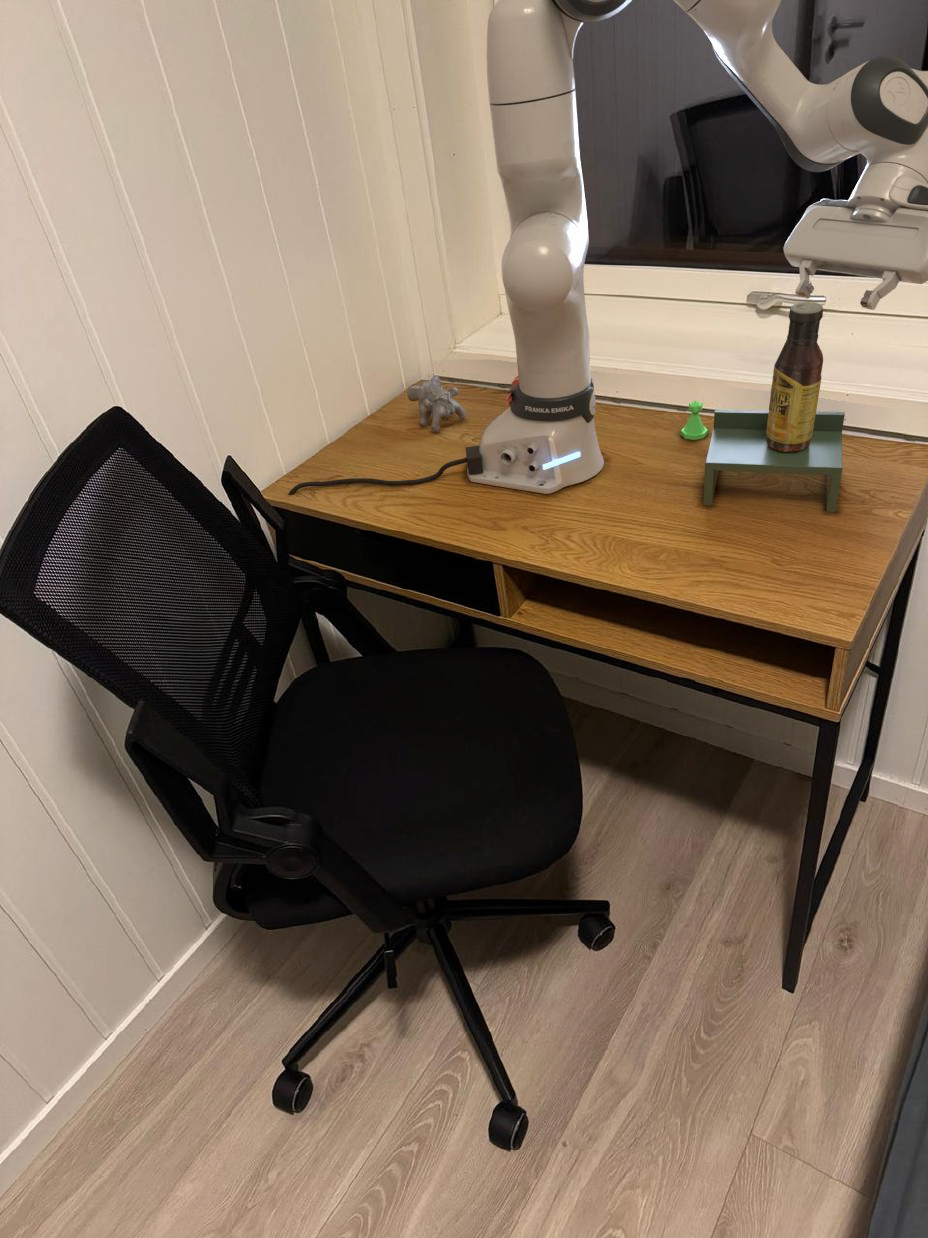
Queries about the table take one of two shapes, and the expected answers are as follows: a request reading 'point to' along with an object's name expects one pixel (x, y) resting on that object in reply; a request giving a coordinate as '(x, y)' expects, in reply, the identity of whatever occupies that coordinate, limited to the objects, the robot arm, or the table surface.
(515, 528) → the table surface
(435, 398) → the gray elephant figurine
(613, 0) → the robot arm
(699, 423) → the game piece
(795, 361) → the sauce bottle
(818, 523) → the table surface
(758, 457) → the shelf
